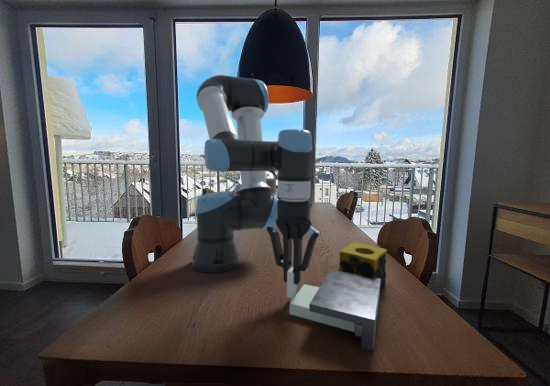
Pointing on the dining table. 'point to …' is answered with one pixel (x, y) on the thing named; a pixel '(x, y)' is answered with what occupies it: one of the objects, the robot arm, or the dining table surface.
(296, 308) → the mint green panel
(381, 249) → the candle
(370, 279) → the riser
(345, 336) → the dining table surface
